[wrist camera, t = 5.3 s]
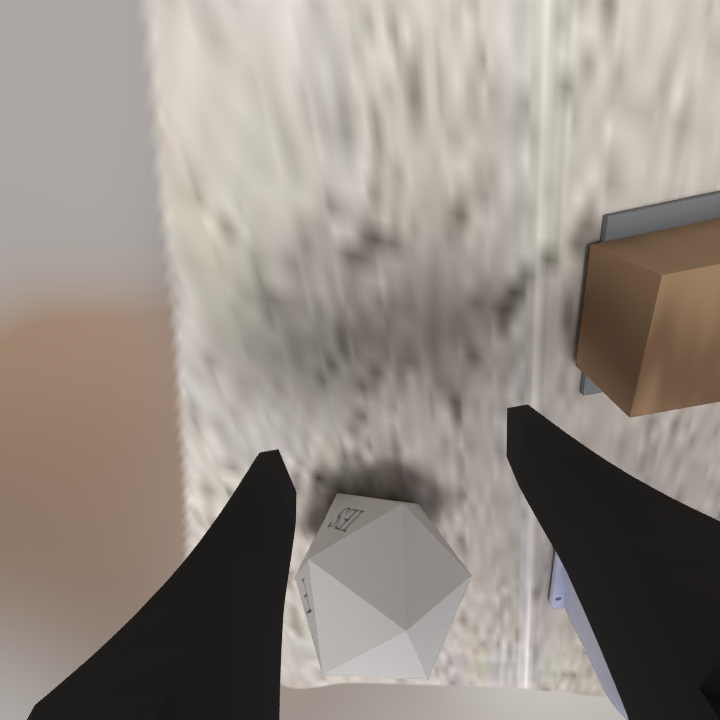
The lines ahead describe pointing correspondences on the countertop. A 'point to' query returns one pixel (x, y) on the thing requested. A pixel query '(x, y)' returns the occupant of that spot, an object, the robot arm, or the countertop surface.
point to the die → (379, 589)
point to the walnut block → (654, 319)
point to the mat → (654, 221)
